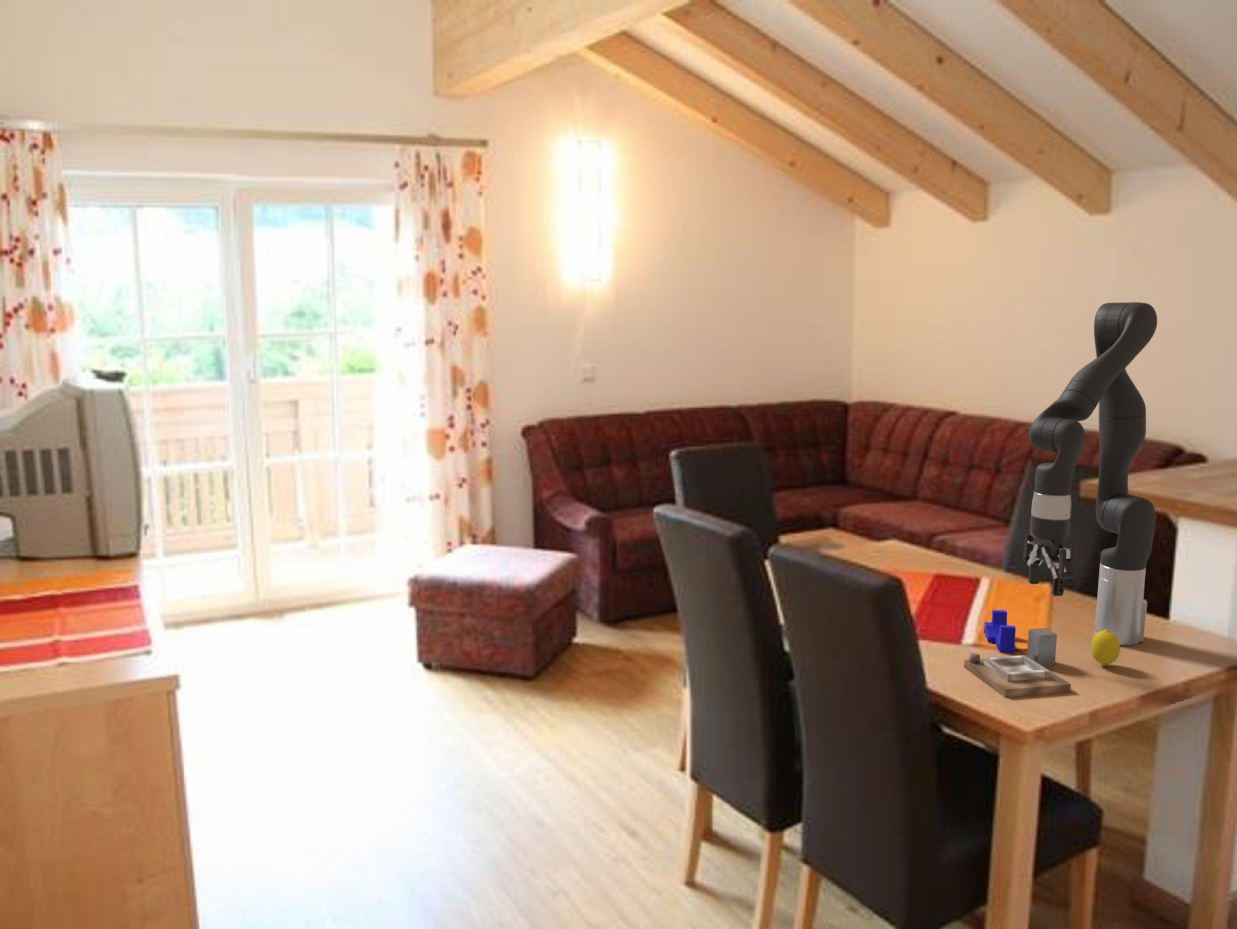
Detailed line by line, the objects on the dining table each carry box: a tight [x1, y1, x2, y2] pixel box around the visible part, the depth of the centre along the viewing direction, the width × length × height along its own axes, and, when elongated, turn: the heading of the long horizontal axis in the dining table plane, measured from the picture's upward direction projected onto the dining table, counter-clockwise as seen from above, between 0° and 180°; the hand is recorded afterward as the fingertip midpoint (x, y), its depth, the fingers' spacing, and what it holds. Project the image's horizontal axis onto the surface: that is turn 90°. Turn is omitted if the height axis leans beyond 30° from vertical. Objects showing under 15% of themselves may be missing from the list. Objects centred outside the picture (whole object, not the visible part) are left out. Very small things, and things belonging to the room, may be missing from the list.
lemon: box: [1090, 629, 1121, 667], centre depth 214 cm, size 6×6×8 cm
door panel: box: [963, 652, 1072, 698], centre depth 208 cm, size 14×16×3 cm
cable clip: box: [983, 609, 1017, 654], centre depth 228 cm, size 12×4×6 cm, turn 169°
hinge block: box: [1026, 627, 1058, 668], centre depth 216 cm, size 4×4×7 cm
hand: (1045, 589), depth 214 cm, fingers open, 8 cm apart
